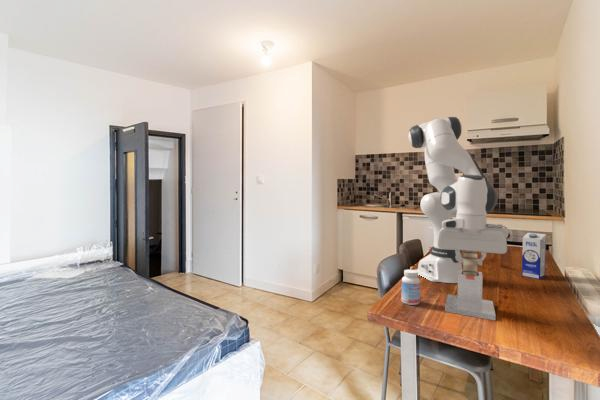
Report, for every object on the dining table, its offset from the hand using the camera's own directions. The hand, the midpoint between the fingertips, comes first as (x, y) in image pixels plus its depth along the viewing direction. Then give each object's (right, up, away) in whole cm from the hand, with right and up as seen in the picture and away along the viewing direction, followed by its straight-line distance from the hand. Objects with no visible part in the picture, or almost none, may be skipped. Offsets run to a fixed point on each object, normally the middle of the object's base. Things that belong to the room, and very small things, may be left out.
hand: (470, 264), depth 101 cm
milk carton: (+51, -14, +38) cm, 65 cm away
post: (0, -13, 0) cm, 13 cm away
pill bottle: (-18, -15, +6) cm, 24 cm away
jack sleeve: (0, -15, 0) cm, 15 cm away
